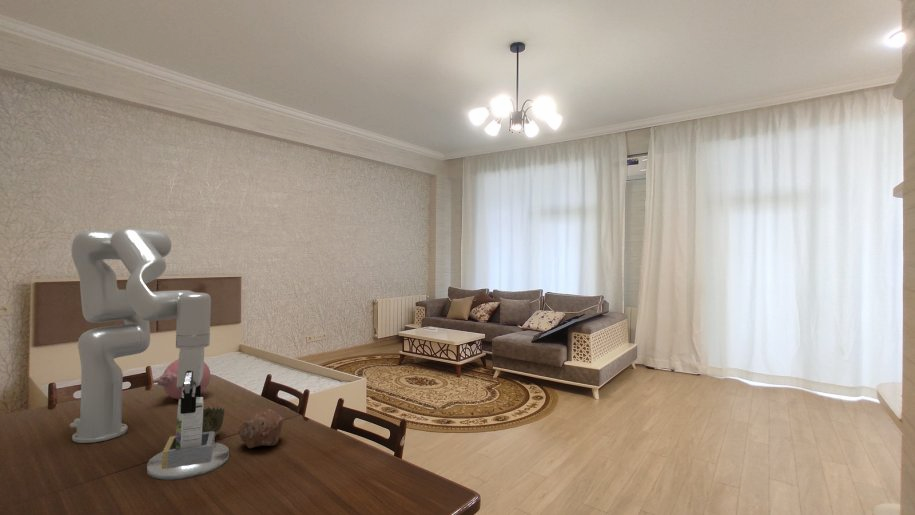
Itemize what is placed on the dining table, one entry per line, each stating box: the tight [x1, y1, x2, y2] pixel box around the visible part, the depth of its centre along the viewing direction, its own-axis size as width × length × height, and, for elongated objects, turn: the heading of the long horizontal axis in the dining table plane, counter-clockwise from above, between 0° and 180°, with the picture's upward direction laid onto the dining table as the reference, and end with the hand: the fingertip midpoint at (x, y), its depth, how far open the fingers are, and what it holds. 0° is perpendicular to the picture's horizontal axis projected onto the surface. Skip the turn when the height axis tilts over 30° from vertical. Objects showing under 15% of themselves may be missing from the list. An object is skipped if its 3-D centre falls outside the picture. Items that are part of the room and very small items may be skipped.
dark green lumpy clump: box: [202, 406, 226, 438], centre depth 129 cm, size 8×7×8 cm
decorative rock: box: [237, 408, 284, 449], centre depth 125 cm, size 13×11×10 cm
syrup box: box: [175, 396, 204, 449], centre depth 114 cm, size 6×6×14 cm
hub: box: [146, 431, 230, 481], centre depth 114 cm, size 18×18×6 cm
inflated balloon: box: [152, 358, 212, 401], centre depth 161 cm, size 15×20×15 cm
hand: (190, 406), depth 114 cm, fingers open, 9 cm apart
